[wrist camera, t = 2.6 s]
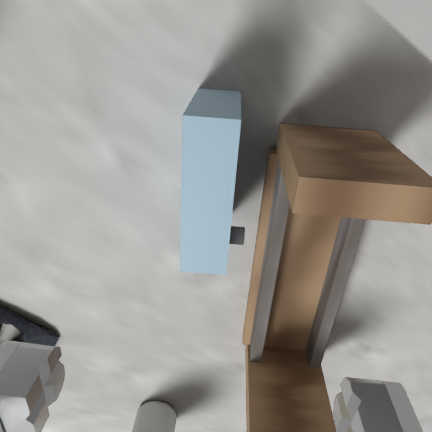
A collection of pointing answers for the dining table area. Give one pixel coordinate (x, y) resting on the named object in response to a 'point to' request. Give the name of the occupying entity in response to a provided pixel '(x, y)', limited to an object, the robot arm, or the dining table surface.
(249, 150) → the dining table surface
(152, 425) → the beverage can
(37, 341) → the dark grey flat piece
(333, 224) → the wooden rack
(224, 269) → the door panel
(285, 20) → the dining table surface
